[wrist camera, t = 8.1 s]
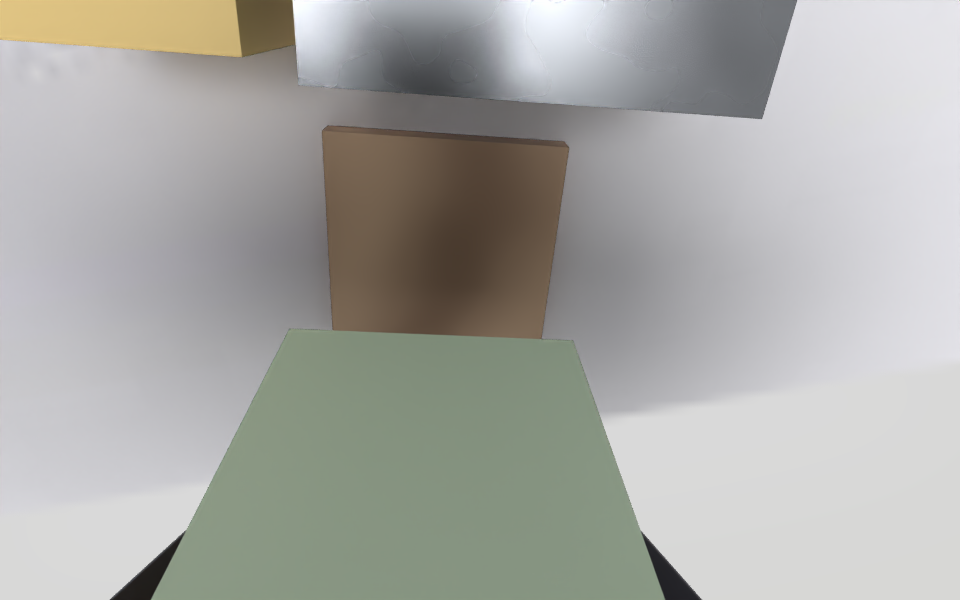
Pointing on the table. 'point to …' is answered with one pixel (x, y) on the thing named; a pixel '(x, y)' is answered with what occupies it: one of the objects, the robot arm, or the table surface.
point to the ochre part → (154, 24)
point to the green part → (416, 479)
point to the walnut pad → (440, 231)
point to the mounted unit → (551, 50)
